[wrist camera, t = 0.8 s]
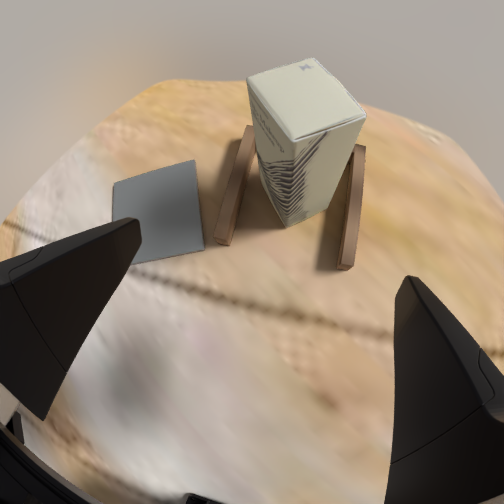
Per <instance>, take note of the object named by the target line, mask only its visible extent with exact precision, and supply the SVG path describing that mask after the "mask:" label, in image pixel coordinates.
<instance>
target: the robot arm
mask: <svg viewBox="0 0 504 504" xmlns="http://www.w3.org/2000/svg"><path fill="white" fill-rule="evenodd" d="M141 244H142V235H141V228H140V222H139V220H138V219H137V218H132V217H126V218H123V219H120V220H117V221H114V222H110V223H107V224H104V225H101V226H98V227H95V228H92V229H89V230H86V231H83V232H81V233H78V234H75V235H72V236H69V237H66V238H64V239H61V240H58V241H55V242H53V243H50V244H47V245H45V246H44V247H43V246H42V247H40V248H37V249H34V250H32V251H29V252H26V253H24V254H21V255H18V256H16V257H13V258H10V259H7V260H4V261H2V262H0V504H104V503H102V502H100V501H98V500H97V499H95V498H93V497H92V496H90V495H89V494H87V493H86V492H84V491H82V490H81V489H79V488H78V487H76V486H75V485H73V484H72V483H71V482H69V481H68V480H66V479H65V478H64V477H62V476H61V475H59V474H58V473H57V472H56V471H54V470H53V469H52V468H50V467H49V466H48V465H47V464H45V463H44V462H43V461H42V460H40V459H39V458H38V457H37V456H36V455H35V454H33V453H32V452H31V451H30V450H29V449H28V448H27V447H26V446H25V445H24V437H23V431H22V424H21V416H20V414H19V413H18V412H17V411H16V409H17V408H18V406H19V405H20V403H22V404H23V405H24V406H25V407H26V408H27V409H29V410H30V411H31V412H32V413H33V414H34V415H36V416H37V417H38V418H39V419H41V420H42V421H44V419H45V418H46V416H47V413H48V411H49V409H50V407H51V405H52V403H53V400H54V398H55V396H56V394H57V392H58V390H59V388H60V386H61V384H62V382H63V380H64V378H65V376H66V374H67V373H66V372H68V370H69V368H70V366H71V364H72V363H73V361H74V359H75V357H76V355H77V353H78V352H79V350H80V348H81V346H82V344H83V343H84V341H85V339H86V337H87V336H88V334H89V332H90V331H91V329H92V327H93V325H94V324H95V322H96V320H97V319H98V317H99V315H100V314H101V312H102V311H103V309H104V307H105V306H106V304H107V303H108V301H109V299H110V298H111V296H112V295H113V293H114V292H115V290H116V288H117V287H118V285H119V284H120V282H121V281H122V279H123V277H124V276H125V274H126V272H127V270H128V268H129V266H130V264H131V263H132V261H133V259H134V257H135V255H136V253H137V252H138V250H139V248H140V246H141ZM394 368H395V402H394V427H393V441H392V452H391V462H390V464H391V465H390V469H389V476H388V483H387V490H386V496H385V501H384V504H504V375H503V374H502V373H501V372H500V371H499V369H498V368H497V367H496V366H495V365H494V363H493V362H492V361H491V360H490V358H489V357H488V356H487V355H486V353H485V352H484V351H483V349H482V348H480V346H479V345H478V343H477V342H476V341H475V340H474V338H473V337H472V336H471V335H470V334H469V332H468V331H467V330H466V329H465V328H464V327H463V325H462V324H461V323H460V322H459V321H458V320H457V318H456V317H455V316H454V315H453V314H452V313H451V312H450V311H449V310H448V308H447V307H446V306H445V305H444V304H443V303H442V302H441V301H440V300H439V299H438V298H437V296H436V295H435V294H434V293H433V292H432V291H431V290H430V289H429V288H428V287H427V286H426V285H425V284H424V283H423V282H422V281H421V280H420V279H419V278H418V277H414V276H410V275H408V276H406V277H405V278H404V280H403V282H402V284H401V286H400V288H399V290H398V292H397V294H396V297H395V317H394ZM192 498H194V499H192ZM186 504H220V503H217V502H214V501H211V500H208V499H206V498H203V497H200V496H198V495H195V494H190V495H189V497H188V499H187V501H186Z"/></svg>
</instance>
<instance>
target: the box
mask: <svg viewBox="0 0 504 504" xmlns="http://www.w3.org/2000/svg"><path fill="white" fill-rule="evenodd" d="M246 82H247V88H248V94H249V101H250V107H251V114H252V120H253V128H254V135H255V142H256V149H257V157H258V165H259V172H260V179H261V184H262V186H263V188H264V190H265V192H266V194H267V195H268V197H269V199H270V201H271V203H272V205H273V207H274V209H275V210H276V212H277V214H278V216H279V217H280V219H281V221H282V223H283V224H284V226H285V227H286V228H288V227H290V226H293V225H295V224H297V223H299V222H301V221H304V220H306V219H308V218H310V217H312V216H314V215H316V214H318V213H320V212H322V211H323V210H325V209H327V208H328V206H329V203H330V201H331V199H332V197H333V194H334V192H335V190H336V187H337V185H338V183H339V180H340V178H341V176H342V174H343V171H344V169H345V167H346V164H347V162H348V160H349V157H350V155H351V152H352V150H353V148H354V145H355V143H356V140H357V138H358V136H359V133H360V131H361V129H362V126H363V124H364V122H365V120H366V117H367V116H366V113H365V111H364V110H363V109H362V107H361V106H360V105H359V104H358V103H357V101H356V100H355V99H354V98H353V97H352V96H351V94H350V93H349V92H348V91H347V90H346V89H345V88H344V87H343V85H342V84H341V83H340V82H339V81H338V80H337V79H336V78H335V77H333V75H332V74H330V73H329V72H328V71H327V70H326V69H325V68H324V67H323V66H322V65H321V64H320V63H319V62H318V61H317V60H316V59H315V58H307V59H304V60H300V61H297V62H293V63H290V64H286V65H283V66H279V67H277V68H273V69H270V70H267V71H264V72H262V73H259V74H256V75H253V76H251V77H248V78H247V79H246Z"/></svg>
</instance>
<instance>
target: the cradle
mask: <svg viewBox="0 0 504 504" xmlns="http://www.w3.org/2000/svg"><path fill="white" fill-rule="evenodd" d="M255 151H256V142H255V135H254V128H253V126H251V125H246V128H245V132H244V135H243V138H242V141H241V144H240V147H239V150H238V153H237V157H236V160H235V163H234V166H233V170H232V173H231V176H230V180H229V183H228V186H227V190H226V193H225V196H224V200H223V203H222V207H221V210H220V214H219V217H218V221H217V224H216V228H215V231H214V235H213V238H214V239H215V240H216V241H217V242H218V243H219V244H224V245H228V246H230V243H231V239H232V235H233V232H234V228H235V224H236V220H237V217H238V213H239V209H240V205H241V202H242V198H243V194H244V191H245V187H246V183H247V180H248V176H249V172H250V169H251V165H252V162H253V158H254V155H255ZM365 152H366V146H363V145H358V144H355V145H354V148H353V150H352V152H351V155H350V157H349V160H348V162H347V163H349V164H350V171H349V181H348V190H347V199H346V207H345V215H344V222H343V229H342V236H341V243H340V249H339V255H338V261H337V267H336V268H338V269H343V270H349V269H350V268H352V267H353V266H354V261H355V254H356V247H357V240H358V232H359V224H360V215H361V206H362V195H363V184H364V170H365Z"/></svg>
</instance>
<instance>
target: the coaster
mask: <svg viewBox="0 0 504 504" xmlns="http://www.w3.org/2000/svg"><path fill="white" fill-rule="evenodd" d="M126 217H132V218H137V219H138V220H139V222H140V228H141V235H142V244H141V246H140V248H139V250H138V252H137V253H136V255H135V257H134V259H133V261H132V263H131V264H130V265H134V264H139V263H144V262H149V261H154V260H159V259H164V258H169V257H174V256H179V255H184V254H189V253H194V252H199V251H204V250H205V245H204V237H203V229H202V220H201V211H200V202H199V193H198V183H197V172H196V162H195V160H190V161H187V162H183V163H179V164H175V165H172V166H168V167H164V168H161V169H157V170H154V171H151V172H147V173H144V174H141V175H138V176H134V177H131V178H128V179H125V180H122V181H119V182H116V183H114V199H113V222H114V221H117V220H120V219H123V218H126Z"/></svg>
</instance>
